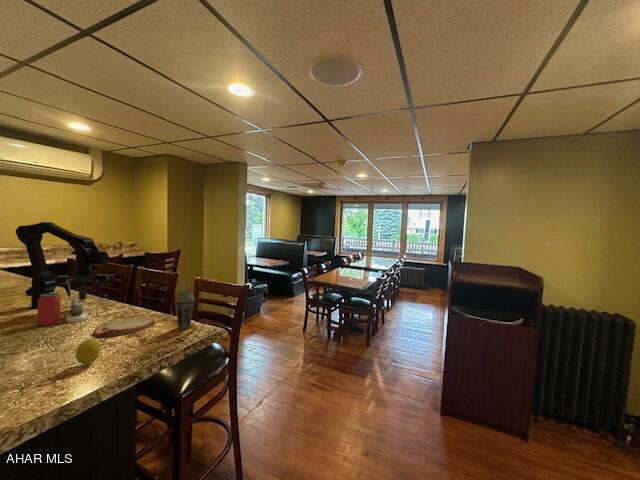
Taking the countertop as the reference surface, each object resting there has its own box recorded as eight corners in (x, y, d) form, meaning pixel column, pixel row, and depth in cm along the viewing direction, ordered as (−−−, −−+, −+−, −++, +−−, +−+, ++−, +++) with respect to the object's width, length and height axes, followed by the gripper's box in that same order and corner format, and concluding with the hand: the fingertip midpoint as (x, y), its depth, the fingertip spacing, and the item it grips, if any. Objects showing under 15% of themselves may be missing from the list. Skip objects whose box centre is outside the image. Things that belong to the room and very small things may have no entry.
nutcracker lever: (81, 315, 115) (82, 295, 115) (69, 316, 113) (69, 296, 112) (88, 302, 133) (88, 284, 132) (77, 303, 130) (77, 285, 130)
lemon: (85, 360, 84) (85, 335, 84) (104, 360, 84) (104, 335, 84) (70, 369, 78) (70, 343, 78) (90, 370, 79) (91, 343, 79)
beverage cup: (197, 326, 116) (199, 281, 115) (182, 332, 109) (184, 283, 108) (185, 323, 119) (187, 278, 118) (170, 328, 112) (172, 281, 111)
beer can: (64, 321, 113) (65, 293, 113) (47, 327, 107) (47, 297, 106) (50, 320, 114) (51, 292, 113) (32, 325, 107) (33, 295, 107)
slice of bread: (158, 320, 121) (158, 312, 121) (142, 337, 104) (142, 327, 103) (111, 321, 117) (112, 313, 116) (87, 339, 99) (87, 329, 99)
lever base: (71, 317, 118) (71, 313, 118) (90, 317, 120) (90, 312, 120) (61, 323, 111) (61, 318, 111) (81, 322, 113) (81, 317, 113)
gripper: (52, 267, 117) (51, 302, 118) (106, 266, 128) (106, 298, 129) (57, 263, 126) (57, 296, 127) (108, 262, 137) (107, 292, 138)
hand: (82, 296), depth 130 cm, fingers open, 9 cm apart
